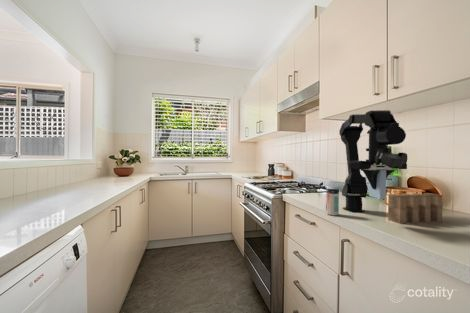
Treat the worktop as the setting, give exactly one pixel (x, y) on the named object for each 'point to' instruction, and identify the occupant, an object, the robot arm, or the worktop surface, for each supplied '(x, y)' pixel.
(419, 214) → the domino
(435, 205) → the domino
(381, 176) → the slate domino
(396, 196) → the domino
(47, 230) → the worktop surface
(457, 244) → the worktop surface
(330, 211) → the beer can
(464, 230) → the worktop surface
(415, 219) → the domino
